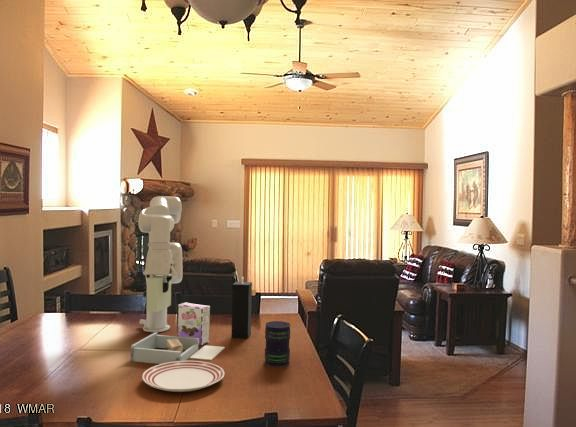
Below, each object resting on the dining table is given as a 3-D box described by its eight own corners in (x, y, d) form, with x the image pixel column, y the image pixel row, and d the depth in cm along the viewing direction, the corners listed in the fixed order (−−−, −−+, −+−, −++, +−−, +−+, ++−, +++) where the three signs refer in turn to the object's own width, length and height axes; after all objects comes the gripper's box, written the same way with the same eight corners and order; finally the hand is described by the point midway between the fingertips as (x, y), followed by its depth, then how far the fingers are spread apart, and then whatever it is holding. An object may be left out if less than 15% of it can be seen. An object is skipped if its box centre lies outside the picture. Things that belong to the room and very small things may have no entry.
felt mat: (189, 358, 174) (189, 357, 174) (204, 346, 190) (204, 345, 190) (211, 360, 172) (211, 359, 172) (224, 347, 188) (224, 346, 188)
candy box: (176, 340, 197) (177, 304, 197) (185, 337, 202) (186, 301, 202) (201, 345, 190) (201, 307, 190) (209, 342, 196) (210, 305, 195)
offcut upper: (171, 354, 171) (171, 346, 171) (166, 347, 180) (166, 339, 180) (182, 353, 173) (182, 345, 173) (176, 345, 182) (177, 338, 182)
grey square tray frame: (130, 361, 170) (130, 345, 170) (154, 346, 188) (155, 332, 188) (179, 365, 166) (179, 349, 166) (198, 350, 184) (199, 335, 184)
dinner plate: (190, 362, 170) (191, 353, 170) (240, 381, 153) (241, 371, 153) (125, 383, 149) (125, 373, 149) (175, 407, 132) (175, 396, 132)
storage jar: (267, 368, 165) (268, 328, 165) (261, 359, 175) (262, 321, 175) (292, 366, 168) (293, 327, 168) (286, 357, 178) (286, 320, 177)
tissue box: (251, 333, 210) (252, 275, 210) (247, 338, 202) (249, 277, 202) (234, 333, 211) (236, 274, 210) (231, 337, 203) (232, 277, 203)
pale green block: (146, 311, 172) (146, 278, 172) (160, 304, 184) (161, 273, 184) (156, 312, 172) (157, 279, 171) (170, 305, 183) (171, 274, 183)
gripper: (136, 246, 175) (135, 292, 176) (175, 248, 172) (174, 294, 173) (145, 244, 183) (144, 288, 183) (183, 246, 179) (182, 291, 180)
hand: (159, 291), depth 178 cm, fingers closed on pale green block, 4 cm apart
